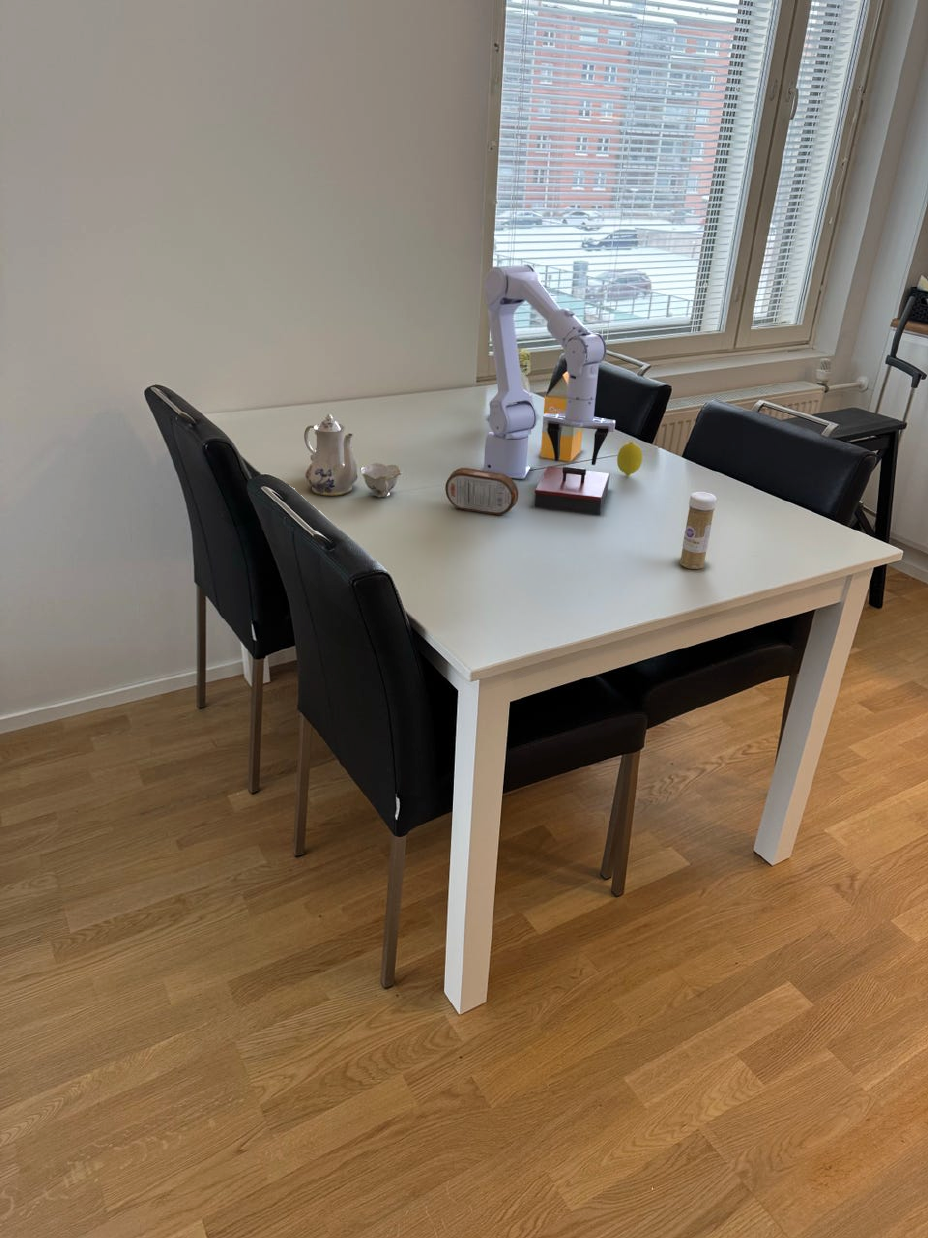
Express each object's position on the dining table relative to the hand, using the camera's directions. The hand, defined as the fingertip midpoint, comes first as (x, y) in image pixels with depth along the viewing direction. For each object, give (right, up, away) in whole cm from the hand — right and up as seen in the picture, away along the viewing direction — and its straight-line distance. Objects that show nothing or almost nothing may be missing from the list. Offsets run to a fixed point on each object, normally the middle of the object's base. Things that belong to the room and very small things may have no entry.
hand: (575, 461), depth 190 cm
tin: (-20, -11, -3) cm, 23 cm away
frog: (-10, +21, +57) cm, 61 cm away
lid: (0, -4, +3) cm, 5 cm away
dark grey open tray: (0, -7, +5) cm, 9 cm away
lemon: (+14, 0, +19) cm, 24 cm away
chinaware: (-49, -4, +7) cm, 50 cm away
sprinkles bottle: (+19, -23, -23) cm, 37 cm away
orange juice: (0, +7, +31) cm, 32 cm away
